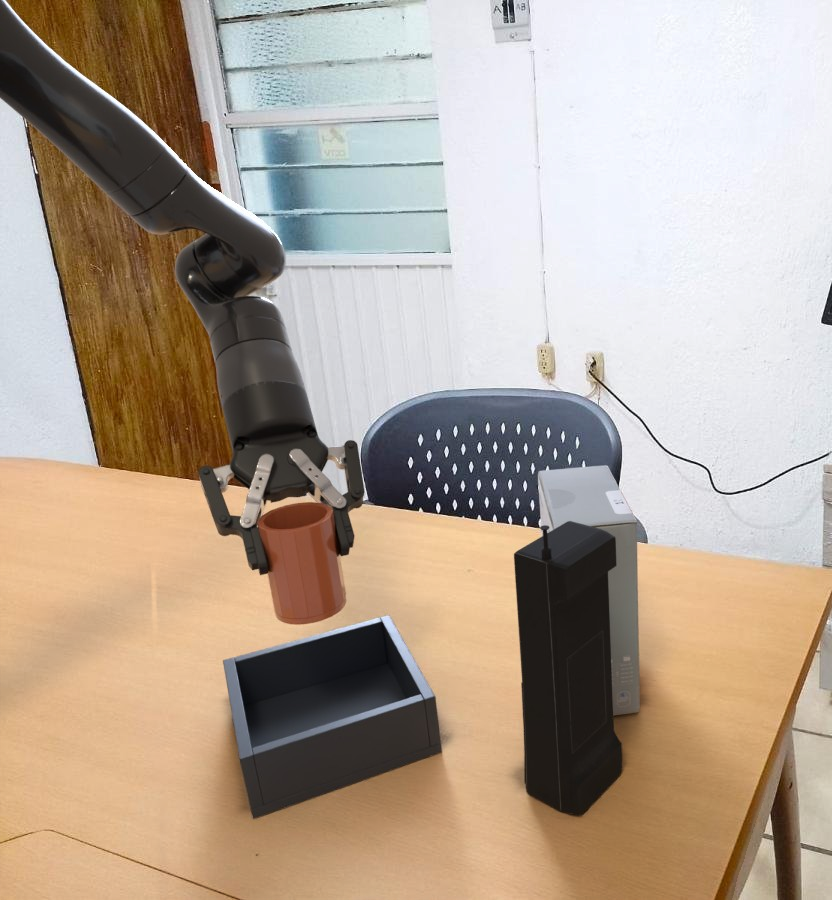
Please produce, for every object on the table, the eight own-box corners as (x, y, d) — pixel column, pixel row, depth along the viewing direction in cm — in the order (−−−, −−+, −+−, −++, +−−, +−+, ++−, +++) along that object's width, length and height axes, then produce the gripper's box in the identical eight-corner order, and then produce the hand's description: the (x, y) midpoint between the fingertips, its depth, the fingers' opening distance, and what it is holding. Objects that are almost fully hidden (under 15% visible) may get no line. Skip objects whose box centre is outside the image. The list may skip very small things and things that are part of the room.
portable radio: (575, 739, 75) (562, 484, 67) (631, 764, 72) (623, 499, 64) (519, 791, 69) (496, 518, 61) (577, 821, 66) (561, 537, 58)
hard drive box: (642, 715, 78) (638, 522, 72) (562, 725, 77) (550, 531, 71) (613, 628, 93) (607, 462, 86) (545, 636, 92) (534, 468, 85)
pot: (280, 632, 71) (262, 537, 68) (270, 600, 77) (253, 511, 74) (353, 612, 74) (338, 520, 71) (339, 583, 79) (325, 496, 76)
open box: (252, 819, 67) (239, 759, 65) (234, 712, 81) (222, 659, 79) (442, 752, 74) (435, 696, 72) (396, 664, 88) (389, 614, 86)
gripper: (176, 390, 72) (212, 567, 66) (344, 367, 78) (391, 526, 72) (185, 432, 78) (219, 597, 72) (340, 407, 84) (384, 557, 78)
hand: (305, 561), depth 72 cm, fingers closed on pot, 6 cm apart
